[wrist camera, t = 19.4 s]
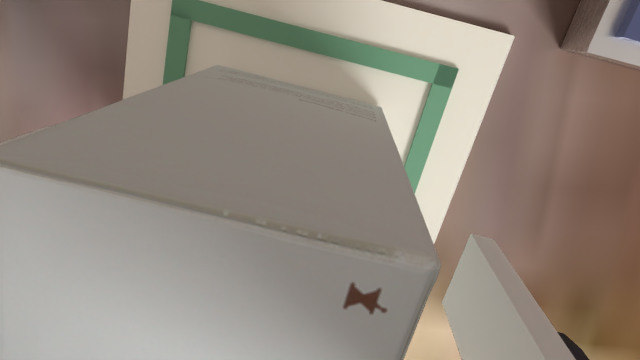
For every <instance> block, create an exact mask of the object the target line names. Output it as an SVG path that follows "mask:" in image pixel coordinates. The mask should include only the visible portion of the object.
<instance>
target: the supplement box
mask: <svg viewBox="0 0 640 360" xmlns="http://www.w3.org/2000/svg"><path fill="white" fill-rule="evenodd" d="M440 268H441V265H440V260H439V257H438V255H437V252H436V249H435V247H434V244H433V241H432V239H431V236H430V233H429V231H428V228H427V225H426V223H425V220H424V217H423V215H422V212H421V210H420V207H419V205H418V202H417V199H416V196H415V194H414V191H413V189H412V186H411V183H410V181H409V178H408V176H407V173H406V170H405V168H404V165H403V163H402V160H401V157H400V154H399V152H398V149H397V146H396V144H395V142H394V139H393V136H392V134H391V131H390V129H389V126H388V123H387V120H386V118H385V115H384V113H383V110H382V108H381V107H380V106H376V105H372V104H368V103H364V102H360V101H356V100H353V99H348V98H345V97H340V96H337V95H332V94H329V93H325V92H322V91H318V90H313V89H309V88H306V87H302V86H298V85H294V84H290V83H287V82H283V81H279V80H275V79H271V78H267V77H264V76H260V75H256V74H252V73H248V72H244V71H240V70H236V69H233V68H228V67H224V66H220V65H215V66H212V67H210V68H207V69H205V70H202V71H199V72H196V73H194V74H191V75H188V76H186V77H183V78H181V79H178V80H175V81H172V82H170V83H167V84H164V85H161V86H159V87H157V88H154V89H151V90H148V91H145V92H143V93H140V94H137V95H134V96H131V97H128V98H126V99H123V100H121V101H118V102H115V103H113V104H110V105H107V106H105V107H102V108H100V109H97V110H95V111H92V112H88V113H86V114H84V115H81V116H79V117H76V118H73V119H70V120H68V121H65V122H63V123H60V124H57V125H54V126H51V127H48V128H46V129H43V130H41V131H38V132H36V133H33V134H30V135H27V136H25V137H23V138H20V139H17V140H13V141H11V142H8V143H5V144H3V145H0V360H403V359H404V357H405V354H406V352H407V349H408V346H409V344H410V341H411V339H412V336H413V334H414V331H415V329H416V326H417V324H418V321H419V319H420V316H421V314H422V311H423V309H424V306H425V304H426V301H427V299H428V296H429V294H430V292H431V290H432V288H433V286H434V284H435V282H436V280H437V277H438V274H439V271H440Z"/></svg>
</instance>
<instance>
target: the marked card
mask: <svg viewBox="0 0 640 360" xmlns="http://www.w3.org/2000/svg"><path fill="white" fill-rule="evenodd" d="M514 37H515V36H513V35H509V34H505V33H502V32H498V31H494V30H490V29H487V28H483V27H479V26H475V25H472V24H468V23H464V22H460V21H457V20H453V19H449V18H446V17H442V16H438V15H434V14H431V13H427V12H423V11H419V10H416V9H412V8H408V7H404V6H401V5H397V4H393V3H390V2H386V1H382V0H131V6H130V18H129V30H128V42H127V54H126V66H125V78H124V90H123V99H126V98H128V97H131V96H134V95H137V94H140V93H143V92H145V91H148V90H151V89H154V88H157V87H159V86H161V85H164V84H167V83H170V82H172V81H175V80H178V79H181V78H183V77H186V76H188V75H191V74H194V73H196V72H199V71H202V70H205V69H207V68H210V67H212V66H215V65H220V66H224V67H228V68H233V69H236V70H240V71H244V72H248V73H252V74H256V75H260V76H264V77H267V78H271V79H275V80H279V81H283V82H287V83H290V84H294V85H298V86H302V87H306V88H309V89H313V90H318V91H322V92H325V93H329V94H332V95H337V96H340V97H345V98H348V99H353V100H356V101H360V102H364V103H368V104H372V105H376V106H380V107H381V108H382V110H383V113H384V115H385V118H386V120H387V123H388V126H389V129H390V131H391V134H392V136H393V139H394V142H395V144H396V146H397V149H398V152H399V154H400V157H401V160H402V163H403V165H404V168H405V170H406V173H407V176H408V178H409V181H410V183H411V186H412V189H413V191H414V194H415V196H416V199H417V202H418V205H419V207H420V210H421V212H422V215H423V217H424V220H425V223H426V225H427V228H428V231H429V233H430V236H431V239H432V241H433V244H434V243H435V240H436V238H437V235H438V232H439V230H440V227H441V225H442V222H443V220H444V217H445V214H446V212H447V209H448V207H449V204H450V202H451V199H452V196H453V194H454V191H455V189H456V186H457V184H458V181H459V178H460V176H461V173H462V171H463V168H464V166H465V163H466V160H467V158H468V155H469V153H470V150H471V148H472V145H473V142H474V140H475V137H476V135H477V132H478V130H479V127H480V124H481V122H482V119H483V117H484V114H485V112H486V109H487V106H488V104H489V101H490V99H491V96H492V94H493V91H494V88H495V86H496V83H497V81H498V78H499V76H500V73H501V70H502V68H503V65H504V63H505V60H506V58H507V55H508V52H509V50H510V47H511V45H512V42H513V40H514Z"/></svg>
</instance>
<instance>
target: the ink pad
mask: <svg viewBox="0 0 640 360" xmlns="http://www.w3.org/2000/svg"><path fill="white" fill-rule="evenodd" d="M560 49H563V50H567V51H571V52H574V53H578V54H582V55H586V56H589V57H593V58H597V59H600V60H604V61H608V62H612V63H615V64H619V65H623V66H627V67H630V68H634V69H638V70H640V0H581V1H580V3H579V6H578V8H577V10H576V13H575V15H574V17H573V20H572V22H571V24H570V27H569V29H568V31H567V34H566V36H565V38H564V41H563V43H562V45H561V48H560Z"/></svg>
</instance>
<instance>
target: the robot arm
mask: <svg viewBox="0 0 640 360" xmlns="http://www.w3.org/2000/svg"><path fill="white" fill-rule="evenodd" d="M46 128H48V127H44V128H41V129H38V130H35V131H32V132H29V133H26V134H23V135H20V136H18V137H15V138H12V139H9V140H6V141H3V142H0V145H3V144H5V143H8V142H11V141H13V140H17V139H20V138H23V137H25V136H27V135H30V134H33V133H36V132H38V131H41V130H43V129H46ZM442 304H443V307H444V309H445V312H446V315H447V318H448V321H449V324H450V327H451V330H452V333H453V336H454V339H455V341H456V344H457V347H458V350H459V353H460V356H461V359H462V360H589V359H588V357H587V356H586V355H585V353H584V352H583V351H582V349H580V348H579V347H578V346H577V345H576V344H575V343H574V342H573V341H572V340H570V339H569V338H568V337H567V336H566V335H565V334H563V333H559V332H557V331H556V330H555V328H554V327H553V325H552V324H551V323H550V321H549V320H548V318H547V317H546V315H545V314H544V312H543V311H542V309H541V308H540V306H539V305H538V304H537V302H536V301H535V299H534V298H533V296H532V295H531V293H530V292H529V290H528V289H527V287H526V286H525V284H524V283H523V282H522V280H521V279H520V277H519V276H518V274H517V273H516V271H515V270H514V268H513V267H512V265H511V264H510V263H509V261H508V260H507V258H506V257H505V255H504V254H503V252H502V251H501V249H500V248H499V246H498V245H497V243H496V242H495V241H494V239H491V238H487V237H483V236H479V235H475V234H471V235H470V237H469V239H468V242H467V244H466V246H465V249H464V251H463V254H462V256H461V258H460V261H459V263H458V266H457V268H456V270H455V273H454V275H453V278H452V280H451V282H450V285H449V287H448V290H447V292H446V294H445V297H444V299H443V301H442Z"/></svg>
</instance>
